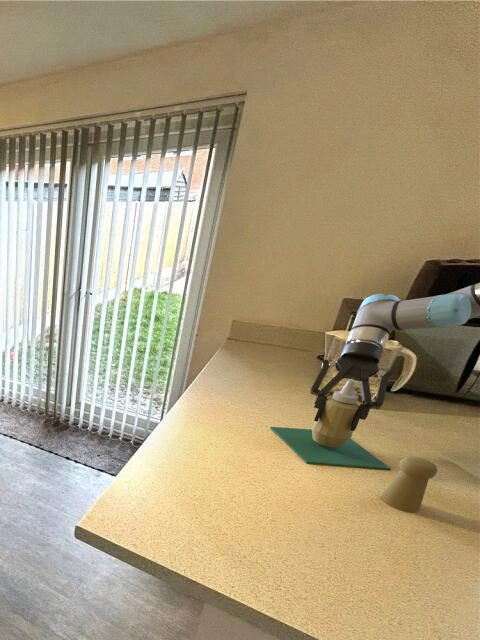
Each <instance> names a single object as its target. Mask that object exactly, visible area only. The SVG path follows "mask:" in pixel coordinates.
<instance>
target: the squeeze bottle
mask: <svg viewBox="0 0 480 640" xmlns="http://www.w3.org/2000/svg"><path fill="white" fill-rule="evenodd" d="M347 380H348V381H346V382H345V384H344V385H343V387H342V388H341V390H334V391H333V393H332V396H331V397H327V399H326V402H325V404H324V407H323V409H322V412H321V414H320V417H319V420H318V422H317V421H314V420H313V423H312V425H311V429H312V436H313V440H314V441H315V442H317V443H319V444H321V445H324V446H327V447H332V448H339V447H341V446H342V445H343V444H344V443H346V442H347V441H348V440H349V439H350V438H351V439H352V436H353V432H354V431H351V430H350V429H351V427H352V424H353V422H354V419H355V417H356V414H357V412H358V410H359V406H360V405H359V404H358V403H357V401H358V400H359V395H357V394H356V393H354V392H355V383H356V382H355V380H353V379H347Z"/></svg>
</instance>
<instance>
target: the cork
mask: <svg viewBox="0 0 480 640" xmlns="http://www.w3.org/2000/svg"><path fill="white" fill-rule="evenodd" d="M398 467H399V471H398V472H397V473H396V475H395V476H394V477H393V479H392V480H391V481H390V482H389V483H388V485H387V486H386V488H385V489H384V490H383V492H382V493H381V494H379V495H380V496H379V497H380V499H381V501H382V502H383V503H385V504H387V505H388V506H390V507H392V508H394V509H397V510H399V511H402V512H408V513H418V512H420V510H421V506H422V503H423V500H424V496H425V494H426V489H427V486H428V483H429V480H430V479H433V478H434V477H435V476H436V475H437V473H438V467H437V465H436V464H435V463H434V462H432V461H430V460H428V459H426V458H423V457H420V456H411V455H409V456H405V457H403V458H402V459H401V460H400V461H399V466H398Z"/></svg>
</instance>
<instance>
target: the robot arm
mask: <svg viewBox="0 0 480 640" xmlns="http://www.w3.org/2000/svg"><path fill="white" fill-rule="evenodd" d="M478 316H480V282H477V283H475V284H472V285H468V286H466V287H464V288H460V289H457V290H454V291H452V292H449V293H443V294H439V295H434V296H427V297H420V298H413V299H407V300H401V299H400V298H399V297H398V296H396V295H394V294H390V293H388V294H383V293H377V294H372V295H370V296H368V297H366V298H365V299H364V300H363V301H362V303H361V304H360V306H359V308H358V310H357V311H356V315H355V319H354V321H353V323H352V326H351V328H350V329H351V330H350V331H349V333H348V336H347V338H346V340H345V345H344V346H343V349H342V351H341V353H340V356H339V358H338V359H337V360H335V361H334V360H333V361H332V360H331V361H330V360H329V359H323V360H322V363H321V369H320V371H319V373H318V375H317V377H316V379H315V380H314V382H313V384H312V386H311V388H310V391H309V394H310V395H313V396H316V398H315V401H314V403H313V408H315V409H317V411H316V414H315V417H314V420H313V422H314V421H317V422H318V420H319V417H320V414H321V412H322V409H323V407H324V404H325V402H326V399H328V398H329V397H328V394H329V393H330V392H331V391H332V390H333V389H334V388H335V387H336V386H337V385H338V384H339V383H340V382H342V381H343V380H344V379H346V380H353V381H357V382H358V385H359V387H360V395H361V401H362V403H360V404H359V405H358V406H359V410H358V412H357V414H356V417H355V419H354V422H353V424H352V427H351V429H350V430H351V431H353V432H355V431H356V429H357V427H358V424H359V423H360V420H362V421H365V420H366V419H367V418H368V416H369V413H370V411H371V410H372V409H375V410H380V409H381V408H382V406H383V405H384V402H385V397H386V392H387V388H388V383H389V381H390V380H391V378H392V377H393V375H394V371H391V370H387V371H386V370H383V369H381V368H380V362H381V359H382V356H383V355H384V350H385V348H386V346H387V343H388V341H389V338H390V335H391V333H392V332H393V331H404V330H417V329H433V328H439V329H441V328H449V327H454V326H455V327H456V326H461V325H464V324H466V323H467V322H468V321H469V320H472V319H475V318H476V317H478ZM334 367H335V369H336V370H337V374H335V376H334V377H333V378H332V379H330V381H329V382H327V384H326V385H325V386H323V387H322V389H319V388H320V386H321V385H322V383H323V382H324V379H325V377H326V375H327V374H328V372H329V371H330V370H332V369H333V368H334ZM375 375H377V376H378V377H377V379H378V380H380V381H379V382H378V386H377V391H376V394H375V400H374V401H372V394H371V393H372V392H371V387H370V378H371V377H373V376H375Z"/></svg>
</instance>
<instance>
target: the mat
mask: <svg viewBox="0 0 480 640" xmlns="http://www.w3.org/2000/svg"><path fill="white" fill-rule="evenodd" d="M270 430H271V431H273V433H274V434H275V435H277V437H278V438H280V439H281V440H282V441H283V442H284V443H285V444H286V445H287V447H289V448H290V449H291V450H292V451H293V452H294V453H295V454H296V455H297V456H298V457H299V458H300V459H301V460H302V461H303V462H304V463H305V464H307V465H319V466H330V467H331V466H332V467H344V468H356V469H367V470H368V469H369V470H380V471H381V470H382V471H391V467H390V466H388V465H387V464H386V463H385V462H383V461H381V460H380V459H379V458H378V457H377V456H375V455H373V453H372V452H370V451H368V450H367V449H365V448H364V447H363V446H362V445H361V444H359V443H358V442H356V441H355V440H354V439H352V437H351V438H350V439H349V440H348V441H347V442H346V443H344V444H343V445H342V446H341V447H339V448H332V447H327V446H324V445H321V444H319V443H317V442H315V441H314V440H313V436H312V428H311V429H309V428H296V427H283V426H282V427H281V426H270Z"/></svg>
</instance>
